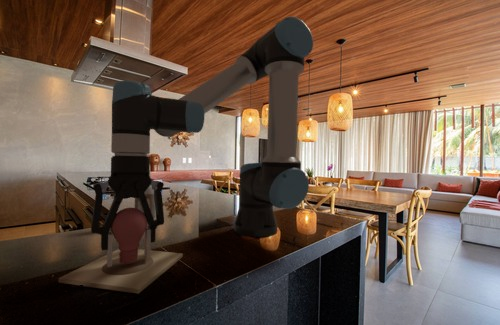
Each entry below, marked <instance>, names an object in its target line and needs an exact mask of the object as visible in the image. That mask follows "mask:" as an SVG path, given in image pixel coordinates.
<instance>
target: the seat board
mask: <svg viewBox="0 0 500 325" xmlns="http://www.w3.org/2000/svg"><path fill="white" fill-rule="evenodd" d="M120 252H121V251H120V250H119V248H118V249H116V250H114V251H112V266H111V267H108V266H107V254H106V255H104V256H102V257H100V258H97V259H95V260H94V261H92V262H89V263H87V264H85V265H83V266H81V267H79V268H77V269H75V270H72V271H70V272H69V273H66V274H64V275H62V276H60V277H58V283H60V284H66V285H68V284H69V285H74V286H80V285H83V286H82V287H88V288H95V289H96V288H97V289H103V290H110V291H116V292H124V293H133V294H140V293H141V292H142V291H144V289H146V288H147V287H148V286H149V285H151V284H152V283H154V281H156V280H157V279H158V278H159V277H160V276H162V275H163V274H164V273H165V272H166V271H168V270H169V269H170V268H171V267H173V266H174V265H175V264H176V263H178V261H180V260H181V259H182V258H183V256H184V254H183V253H181V252H179V253H178V252H169V251H162V250H161V251H160V250H152V249H150V259H146V257H145V256H144V249H141V248H138V255H137V256H138V257H137V261H135V262H132V263H129V264H128V263H120V262H119V260H120V259H119V258H120V257H119V253H120Z"/></svg>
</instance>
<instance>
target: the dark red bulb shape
mask: <svg viewBox="0 0 500 325" xmlns="http://www.w3.org/2000/svg"><path fill="white" fill-rule="evenodd" d="M146 227H147V218H146V216H145V214H144V213H143V212H142V211H141V210H139V209H136V208H135V207H126V208H122V209H120V210H118V211H117V213H116V216H115V218H114V221H113V223H112V225H111V228H110V232H112V235H113V238H114V240H115V241H116V242H117V244H118V249H119V250H120V251H121V252H120V253H119V257H120V258H119V259H120V260H119V262H120V263H128V264H129V263H132V262H135V261H137V257H138V256H137V255H138V249H139V248H140V241H141V240H142V237H143V236H144V235H145V230H146Z"/></svg>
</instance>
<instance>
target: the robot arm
mask: <svg viewBox="0 0 500 325" xmlns="http://www.w3.org/2000/svg"><path fill="white" fill-rule="evenodd" d="M313 48H314V38H313V34H312V32H311V30H310V28H309V27H308V26H307V24H306V23H305V22H304V21H303V20H302V19H300V18H298V17H295V16H287V17H284V18H283V19H281V20H280V21H278V22H276V23H275V26H273V27H272V28H270V29H269V30H268V31H267V32H266V33H264V34H263V35H262V36H260V38H258V39H257V40H256V41H255V42H254V43H253V44H252V45H251V46H250V47H249V48H248V49H247V50H245V52H243V53H242V54H241V55H239V56H238V57H236V58H235V62H234V63H233V64H232V65H230V66H228V67H227V68H225V69H224V70H222V71H220V72H219V73H217V74H216V75H215V76H213V77H211V78H209V79H208V80H207V81H205V82H203V83H202V84H200V85H199V86H197V87H196V88H194V89H192V90H191V91H189V92H188V93H186V94H184V95H183V96H181V97H180V98H178V99H176V98H171V97H170V98H169V97H164V96H163V97H161V96H156V95H153V94H152V90H151V87H150V86H149V85H147V83H142V82H139V81H134V80H120V81H118V82H115V83H114V85H113V87H112V96H111V97H112V98H111V146H110V147H111V149H110V151H111V153H112V154H114V155H112V157H110V176H109V178H108V181H104V182H95V183H94V184H93V189H94V193H95V199H94V204H93V211H92V217H91V218H92V220H91V224H90V225H91V226H90V231H91V234H99V235H100V248H101V250H102V251H106V255H107V266H108V267H111V266H112V252H113V238H114V236H113V234H112V232H111V225H112V223H113V221H114V218H115V216H116V213H118V212H119V209H120V206H121V204H122V202H123V200H124V199H125V200H127V199H131V198H133V199H135V198H138V199H139V202H140V204H141V207H142V209H143V212H144V214H145V216H146V218H147V223H148V225H149V227H146V230H145V232H144V249H143V250H144V256H145V257H146V259H150V250H152V249H151V246H152V244H151V243H155V241H156V232H157V231H156V229H157V228H158V226H163V225H164V224H165V215H164V214H165V213H164V203H163V188H164V182H163V181H160V180H158V181H155V180H152V178H151V175H150V176H149V170H150V160H151V159H150V157H149V156H148V155H149V154H150V153H151V152H150V151H151V150H150V149H151V148H150V147H151V145H150V144H151V130H153V131H154V132H156V133H157V134H158V135H159V136H162V137H167V138H170V137H171V138H172V137H174V136H175V135H177V134H180V133H187V134H192V133H193V134H195V133H196V134H197V133H200V132H201V131H202V130H203V127H204V122H205V115H206V113H208V112H209V111H211V110H212V109H214V108H215V107H216V106H218V105H220V104H221V103H222V102H224V100H226V99H228V98H229V97H231V96H232V95H233V94H235V93H236V92H238V91H240V90H241V89H242V88H244V87H245V86H246V85H253V84H255V83H256V82H257V81H260V80H261V79H263V78H265V77H269V82H268V83H269V85H268V107H267V109H268V110H267V111H268V112H267V141H266V143H267V146H266V156H265V157H264V158H263V159H262V160H261V162H250V163H249V162H248V163H244V164H242V165H241V166H240V169H239V171H240V172H239V200H238V201H239V205H238V206H239V207H238V211H237V213H236V217H235V219H234V222H233V231H234V233H236V234H238V235H242V236H245V237H246V236H247V237H269V236H273V235H275V234H277V232H278V221H277V219H276V214H275V211H274V208H278V209H285V210H291V209H294V208H296V207H299V205H301V203H302V202H303V201H304V200H305V199H306V197H307V195H308V192H309V188H310V186H309V184H310V182H309V178H308V176H307V175H306V173H305V172H304V171H303V170H302V169H301V168H302V162H301V160H299V159H298V157H297V138H298V137H297V132H298V131H297V129H298V105H299V103H298V100H299V76H300V75H301V74H302V73H303V72H304V70H305V58H306V57H308V56H309V55H310V54H311V52H312V51H313ZM150 185H151V186H152V189H153V190H154V200H155V220H154V218H153V216H152V213H151V210H150V208H149V205H148V202H147V199H146V196H145V193H144V192H145V191H146V190H147V188H148V187H149V186H150ZM109 187H110V189H111V190H112V191H113V192H114V193H115V195H114V197H113V200H112V203H111V205H110V207H109V210H108V212H107V215H106V217H105V219H104V222H103V224H102V226H101V225H100V221H101V214H102V208H103V207H102V206H103V201H104V200H103V199H104V193H106V192H107V190H108V188H109ZM273 207H274V208H273Z"/></svg>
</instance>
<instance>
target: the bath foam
mask: <svg viewBox="0 0 500 325" xmlns="http://www.w3.org/2000/svg"><path fill="white" fill-rule="evenodd" d="M149 176H150V177H151V169H149ZM144 193H145V196H146V199H147V202H148V205H149V208H150V210H151V213H152V216H153V218H154V220H156V211H155V200H154V190H153V189H152V186H151V185H150V186H149V187H148V188H147V190H146V191H145V192H144ZM134 208H136V209H139V210H141V211H142V212H143V209H142V207H141V204H140V202H139V199H138V198H134ZM143 213H144V212H143ZM148 226H149V225H148V223H147V227H148Z"/></svg>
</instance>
